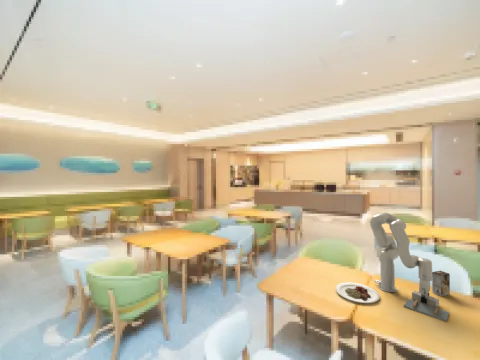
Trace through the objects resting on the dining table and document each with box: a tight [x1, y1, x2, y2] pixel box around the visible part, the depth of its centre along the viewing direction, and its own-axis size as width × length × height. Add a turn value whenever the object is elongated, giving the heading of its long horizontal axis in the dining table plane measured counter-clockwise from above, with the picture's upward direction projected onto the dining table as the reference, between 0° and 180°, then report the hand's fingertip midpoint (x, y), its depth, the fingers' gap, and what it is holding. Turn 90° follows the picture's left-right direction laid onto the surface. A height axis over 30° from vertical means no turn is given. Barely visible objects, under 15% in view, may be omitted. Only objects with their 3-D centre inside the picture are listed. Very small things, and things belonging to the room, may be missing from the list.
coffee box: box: [431, 270, 451, 297], centre depth 172 cm, size 9×6×16 cm
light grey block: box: [411, 290, 440, 308], centre depth 161 cm, size 14×5×5 cm, turn 33°
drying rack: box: [403, 298, 450, 323], centre depth 152 cm, size 22×12×3 cm, turn 42°
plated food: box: [335, 281, 381, 304], centre depth 174 cm, size 30×30×3 cm
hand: (425, 300), depth 161 cm, fingers open, 9 cm apart
